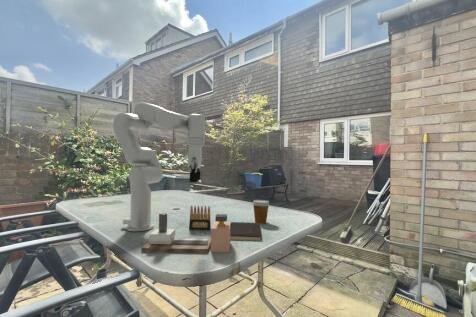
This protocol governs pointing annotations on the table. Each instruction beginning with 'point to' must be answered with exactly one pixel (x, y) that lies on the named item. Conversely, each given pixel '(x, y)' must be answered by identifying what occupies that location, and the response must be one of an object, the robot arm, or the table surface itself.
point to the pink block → (220, 237)
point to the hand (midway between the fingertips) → (195, 181)
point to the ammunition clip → (199, 219)
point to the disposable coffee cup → (260, 210)
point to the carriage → (162, 232)
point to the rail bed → (180, 246)
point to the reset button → (221, 219)
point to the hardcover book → (245, 231)
